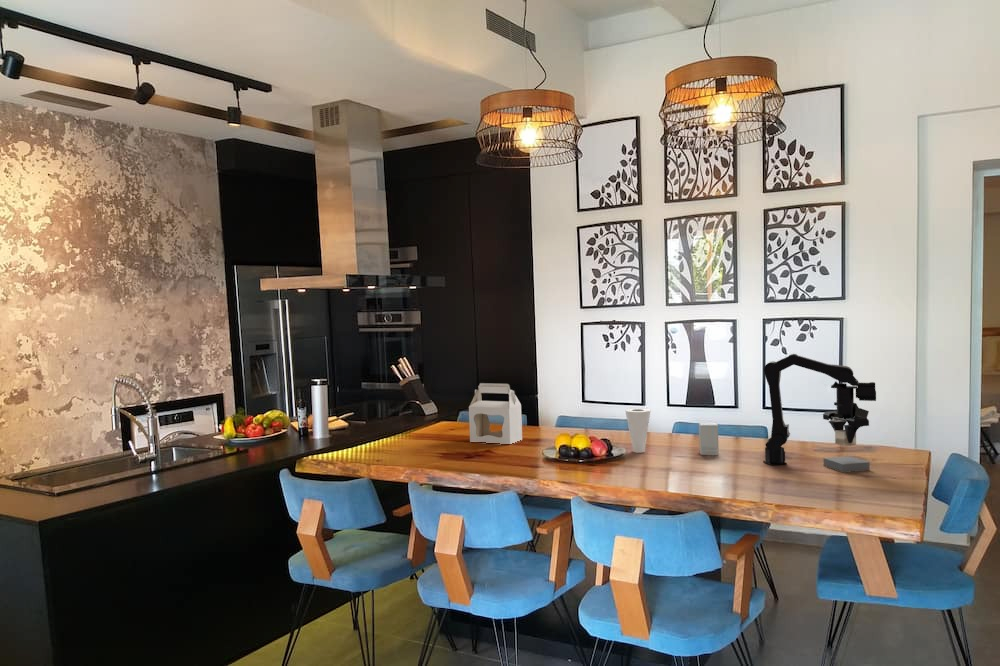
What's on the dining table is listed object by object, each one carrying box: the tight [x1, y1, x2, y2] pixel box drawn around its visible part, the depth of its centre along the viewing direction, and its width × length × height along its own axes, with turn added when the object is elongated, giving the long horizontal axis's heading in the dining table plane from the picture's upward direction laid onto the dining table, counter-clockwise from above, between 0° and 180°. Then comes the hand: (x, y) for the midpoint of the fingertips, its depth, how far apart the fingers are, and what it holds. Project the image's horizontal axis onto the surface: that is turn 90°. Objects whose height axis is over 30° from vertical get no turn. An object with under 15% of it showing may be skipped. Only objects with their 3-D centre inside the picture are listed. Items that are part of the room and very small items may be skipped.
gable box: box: [468, 382, 523, 445], centre depth 338 cm, size 22×13×28 cm, turn 63°
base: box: [823, 455, 871, 473], centre depth 263 cm, size 11×11×3 cm
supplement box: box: [698, 422, 720, 456], centre depth 296 cm, size 7×7×13 cm
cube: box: [834, 429, 857, 447], centre depth 262 cm, size 5×5×5 cm
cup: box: [625, 407, 651, 454], centre depth 304 cm, size 11×11×18 cm
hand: (845, 441), depth 263 cm, fingers closed on cube, 5 cm apart
